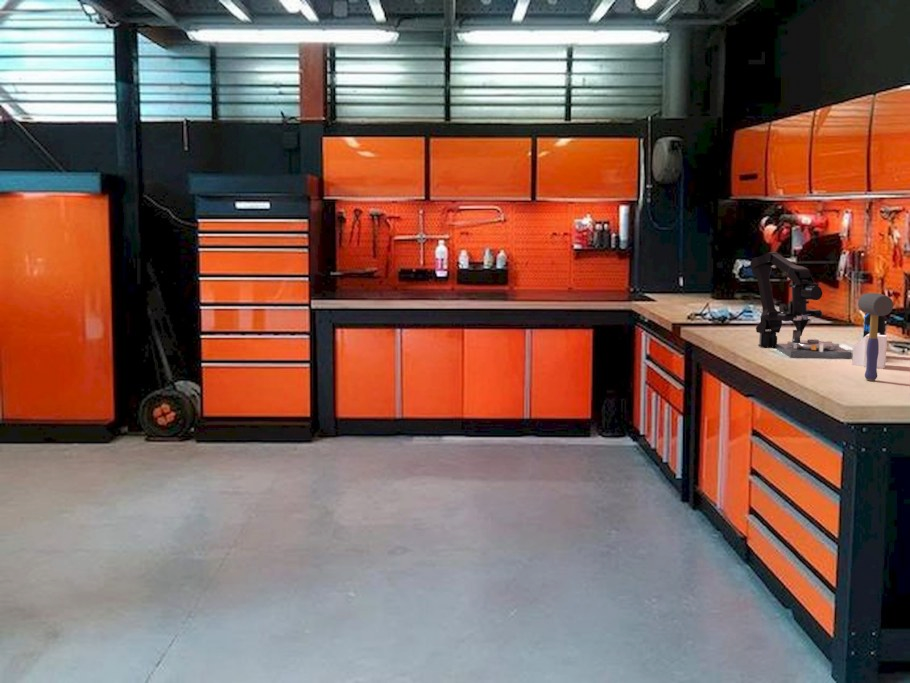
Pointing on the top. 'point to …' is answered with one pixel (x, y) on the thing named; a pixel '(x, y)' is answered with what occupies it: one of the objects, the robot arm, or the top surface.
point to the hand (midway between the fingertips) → (799, 335)
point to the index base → (813, 352)
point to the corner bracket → (861, 350)
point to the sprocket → (809, 343)
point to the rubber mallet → (874, 327)
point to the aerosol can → (880, 324)
